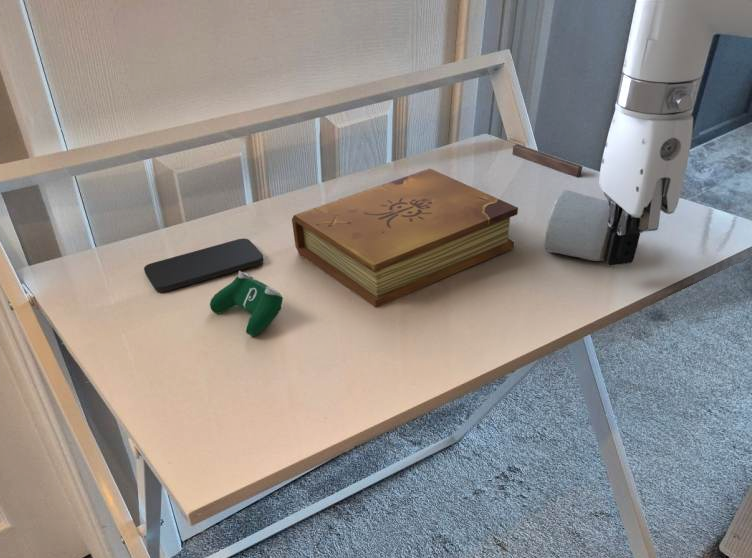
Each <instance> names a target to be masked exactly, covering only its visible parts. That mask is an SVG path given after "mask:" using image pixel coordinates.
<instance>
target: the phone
mask: <svg viewBox="0 0 752 558" xmlns="http://www.w3.org/2000/svg"><path fill="white" fill-rule="evenodd" d="M264 261H265V260H264V254H263V252H261V251H260V250H259V249H258V247H256V245H255V244H254V243H253V242H252V241H251V240H250V239H248V238H237V239H235V240H231V241H227V242H222V243H219V244H216V245H212V246H209V247H205V248H202V249H198V250H195V251H191V252H187V253H182V254H180V255H175V256H172V257H169V258H165V259H161V260H158V261H155V262H151V263H148V264H146V265H145V266H144V267H143V270H144V274H145V276H146V277H147V279H148V281H149V283H150V284H151V286H152V287H153V289H154V291H156V292H157V293H158V292H159V293H164V292H163V291H165V292H169V291H172V290H176V289H179V288H183V287H186V286H189V285H193V284H196V283H199V282H203V281H206V280H209V279H214V278H217V277H220V276H224V275H227V274H231V273H234V272H237V271H238V272H239V271H241V270H245V269H248V268H251V267H255V266H258V265H261V264H262V263H263V262H264ZM182 286H183V287H182Z"/></svg>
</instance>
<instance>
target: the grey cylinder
mask: <svg viewBox="0 0 752 558" xmlns="http://www.w3.org/2000/svg"><path fill="white" fill-rule="evenodd" d="M609 209H610V206H609V202H608V200H607V199H602V198H597V197H593V196H590V195H585V194H583V193H580V192H575V191H571V190H568V189H567V190H566V189H565V190H562V191H561V192H560V194H559V195H558V197H556V200H555V201H554V204H553V206H552V209H551V211H550V215H549V218H548V222H547V226H546V230H545V237H544V249H545V251H547V252H549V253H553V254H554V253H555V254H559V255H564V256H569V257H575V258H578V259H579V258H580V259H584V260H588V261H594V262H595V261H596V262H603V261H604V260H603V258H602V257H603V252H604V248H605V243H606V239H607V234H608V229H609V228H612V227H609V225H608V216H609Z"/></svg>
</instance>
